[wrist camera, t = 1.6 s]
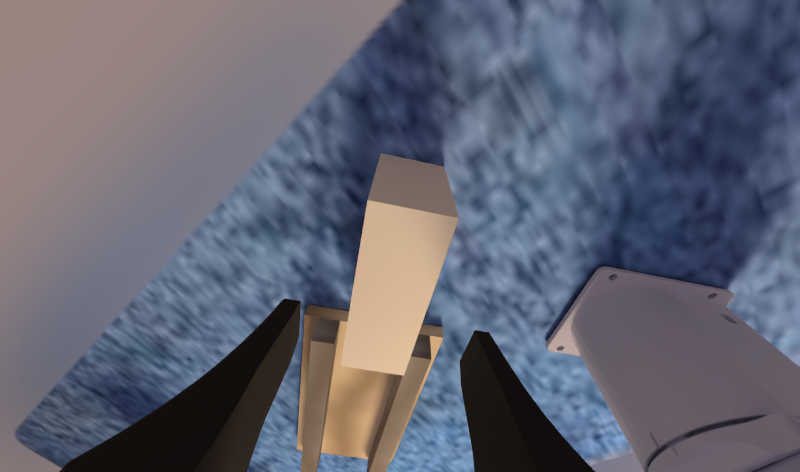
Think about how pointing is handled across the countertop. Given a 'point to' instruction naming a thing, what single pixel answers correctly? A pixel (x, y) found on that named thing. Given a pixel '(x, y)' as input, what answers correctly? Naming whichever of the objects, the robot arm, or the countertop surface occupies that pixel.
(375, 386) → the sliding track
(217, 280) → the countertop surface
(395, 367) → the cream rectangular block
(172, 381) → the countertop surface
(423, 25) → the countertop surface
